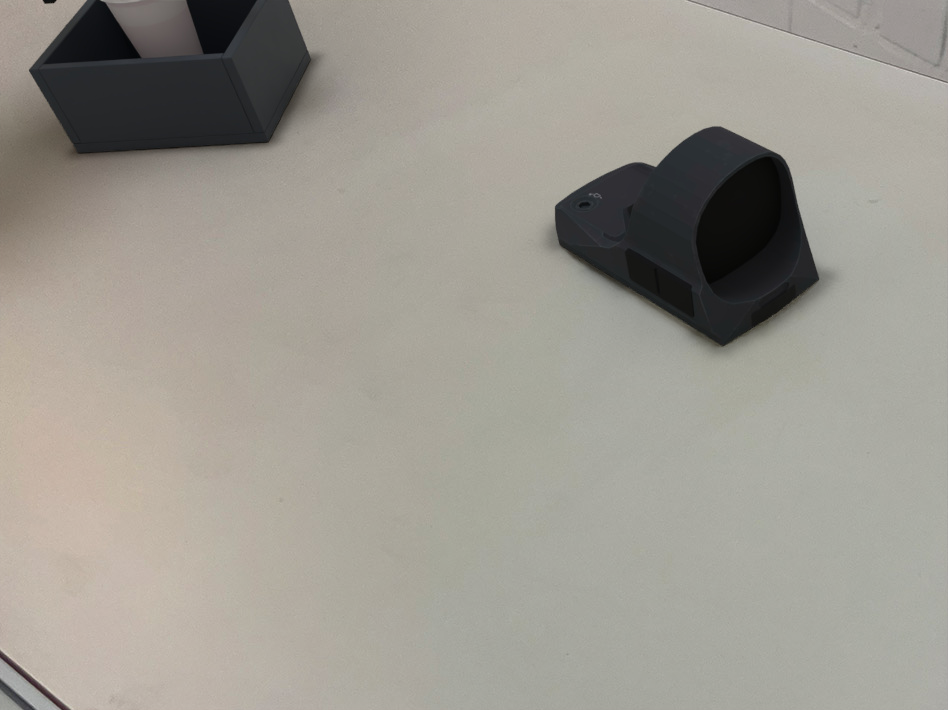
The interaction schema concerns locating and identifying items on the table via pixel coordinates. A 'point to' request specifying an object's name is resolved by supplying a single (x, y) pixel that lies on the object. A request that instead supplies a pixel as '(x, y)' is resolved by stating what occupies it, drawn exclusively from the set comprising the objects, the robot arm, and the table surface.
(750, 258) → the sight
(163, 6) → the smoothie
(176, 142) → the bin
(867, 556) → the table surface
